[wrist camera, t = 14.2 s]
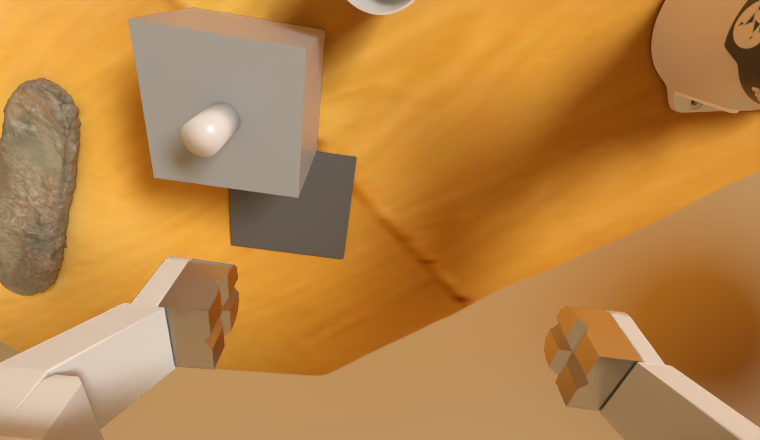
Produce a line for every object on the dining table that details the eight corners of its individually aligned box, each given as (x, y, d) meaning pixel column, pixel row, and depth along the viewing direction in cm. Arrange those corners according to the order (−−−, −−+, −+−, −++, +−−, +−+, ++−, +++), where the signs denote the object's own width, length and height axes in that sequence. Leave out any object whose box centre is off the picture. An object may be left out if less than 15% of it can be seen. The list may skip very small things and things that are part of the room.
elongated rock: (111, 101, 48) (25, 57, 46) (80, 110, 43) (-17, 62, 41) (64, 298, 63) (-3, 271, 61) (38, 321, 58) (-36, 292, 56)
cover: (325, 29, 42) (293, 59, 27) (316, 150, 49) (287, 225, 35) (193, 7, 41) (86, 26, 27) (203, 133, 48) (124, 203, 34)
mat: (356, 157, 50) (356, 158, 49) (343, 257, 58) (343, 259, 58) (227, 138, 49) (226, 139, 48) (232, 243, 57) (231, 245, 57)
